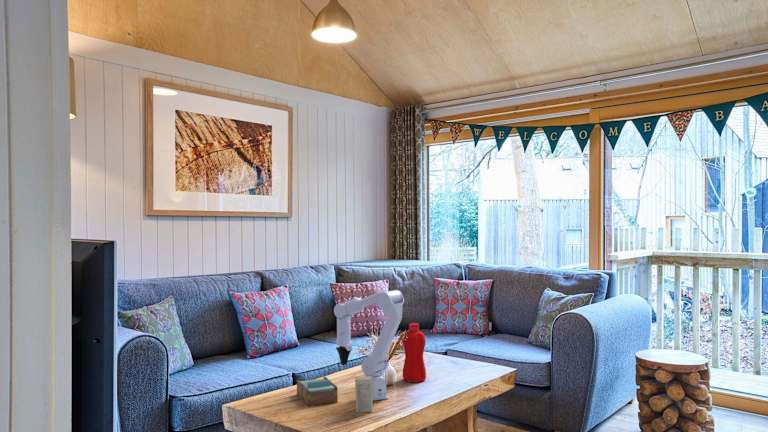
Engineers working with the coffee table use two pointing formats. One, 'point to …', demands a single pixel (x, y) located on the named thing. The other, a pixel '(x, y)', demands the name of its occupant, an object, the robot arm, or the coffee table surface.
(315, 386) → the lid
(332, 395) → the box
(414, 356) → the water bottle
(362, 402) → the skincare box
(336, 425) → the coffee table surface
